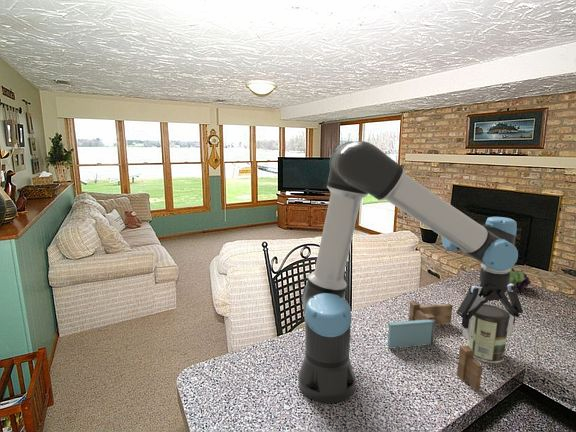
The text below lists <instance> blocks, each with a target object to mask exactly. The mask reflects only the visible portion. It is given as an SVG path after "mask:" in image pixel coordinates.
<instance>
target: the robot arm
mask: <svg viewBox="0 0 576 432" xmlns="http://www.w3.org/2000/svg"><path fill="white" fill-rule="evenodd" d="M326 188H327V189H328V190H329V193H330V196H329V200H328V205H327V209H326V215H325V220H324V224H323V228H322V229H323V230H322V235H321V238H320V243H319V247H318V253H317V257H316V263H315V268H314V271H312V272H311V273H309V274H308V276H307V281H306V285H305V286H304V288H303V291H302V294H301V302H302V303H301V304H302V307H303V316H304V327H305V329H304V330H305V336H304V338H305V340H304V341H305V346H304V348H305V352H304V353H305V354H304V357H303V361H302V363H301V365H300V369H299V372H298V387H299V389H300V390H301V392H302V393H303V394H304V395H305V396H306V397H308V398H309V399H311V400H313V401H316V402H319V403H322V404H323V403H324V404H336V403H341V402H343V401H346V400H347V399H349V398H350V397H351V396H352V395H353V393H354V392H355V388H356V377H355V372H354V369H353V366H352V363H351V359H350V350H351V346H350V345H351V324H352V312H351V306H350V303H349V302H348V301H347V300H346V299H345V296H346V290H347V286H348V284H347V282H346V281H345V279H344V276H345V270H346V267H347V262H348V257H349V255H350V254H349V253H350V249H351V245H352V241H353V236H354V231H355V228H356V222H357V218H358V214H359V209H360V206H361V201H362V199H364V198H365V197H366V196H368V195H370V196H372V197H374V198H375V199H376V200H378V201H384V200H385V201H387V202H388V203H390V204H391V205H393V206H395V207H396V208H397V209H399V210H401V211H402V212H403V213H405V214H407V215H408V216H410V217H412V218H413V219H415V220H416V221H418V222H419V223H421V224H422V225H423V226H425V227H427V228H428V229H430V230H431V231H433V232H434V233H436V234H437V235H439V236H441V244H442V246H443V248H444V249H445V250H446V251H449V252H450V251H452V252H462V253H464V254H466V255H467V256H469V257H471V258H472V259H475V260H476V261H477V262H479V263H481V264H480V266H481V268H480V269H479V283H480V284H479V285H478V286H477V285H476V286H475V285H473V284H470V285H469V289H468V292H467V293H466V296H465V297H464V299H463V300H462V302H461V303H460V306H459V308H457V311H456V314H457V315H459V317H461V318H462V321H461V327H462V336H463V337H465V338H466V339H467V340H471V332H472V324H473V319H471V317H472V316H473V315H474V314H475V313H476V312H477V311H478V310H479V308H480V307H481V306H482V305H483V304H488V302H492V301H495V302H496V301H500V303H501V304H502V306H503V307H504V308H505V311H507V312H508V313H509V314H510V319H509V324H508V331H507V337H512V333H513V326H514V325H515V322H516V318H519V316H520V315H521V314H523V313H524V310H523V308H522V307H523V306H522V304H521V302H520V298H519V295H518V293H517V292H518V291H517V286H515V285H514V284H511V283H509V280H510V273H509V272H510V271H511V268H513V267H514V266H515V264H516V263H517V262H518V259H519V258H518V257H519V252H518V249H517V247H516V246H515V245H516V238H517V229H518V228H517V226H518V225H517V222H516V220H514V219H512V218H510V217H505V216H504V217H503V216H490V217H489V216H488V217H487V219H486V221H485V224H480V223H478V222H477V221H475V220H474V219H473V218H472V217H470V216H468V215H467V214H465V213H463V212H462V211H461V210H459V209H457V208H456V207H454V206H453V205H452V204H451V203H449V202H447V201H446V200H444V199H443V198H442V197H440V196H439V195H437V194H435V193H434V192H433V191H431V190H430V189H428V188H427V187H425V186H424V185H422V184H421V183H420V182H417V181H416V180H415V179H414V178H412V177H410V176H409V175H408V174H406V173H405V167H403V166H402V165H401V164H399V163H398V162H397V161H395V160H394V159H392V158H391V157H390V156H388V154H386V152H383V151H382V150H381V149H380V148H378V146H376V145H374V144H372V143H370V142H368V141H363V140H359V141H358V140H357V141H356V140H355V141H353V140H352V141H347V142H344V143H342V144H340V145H338V146H337V147H336V148H335V149H334V151H333V152H332V153H331V155H330V159H329V175H328V179H327V183H326ZM506 293H507V295H508V297H507V295H506ZM509 300H510V301H509Z"/></svg>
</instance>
